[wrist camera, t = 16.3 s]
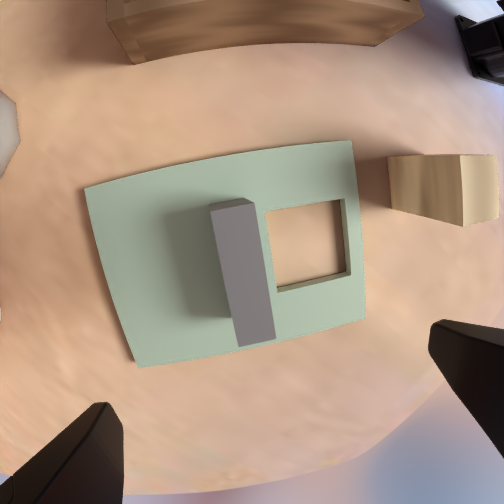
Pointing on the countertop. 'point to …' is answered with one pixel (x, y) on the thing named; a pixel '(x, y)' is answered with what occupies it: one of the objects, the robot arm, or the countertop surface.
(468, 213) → the tan rectangular block
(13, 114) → the flask
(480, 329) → the robot arm
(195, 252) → the lid
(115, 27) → the brown wooden open box
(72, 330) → the countertop surface
